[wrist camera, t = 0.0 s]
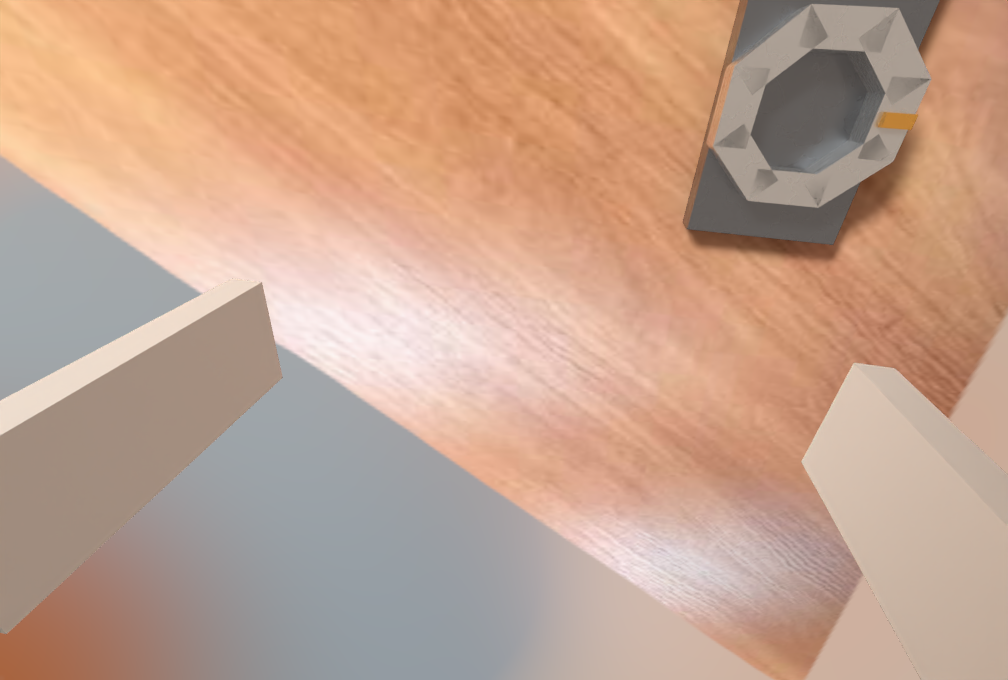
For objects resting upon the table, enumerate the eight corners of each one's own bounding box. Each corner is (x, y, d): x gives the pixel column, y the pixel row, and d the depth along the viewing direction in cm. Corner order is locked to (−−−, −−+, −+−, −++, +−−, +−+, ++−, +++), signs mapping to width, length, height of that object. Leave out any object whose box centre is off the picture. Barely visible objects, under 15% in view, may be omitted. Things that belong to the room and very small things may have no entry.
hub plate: (771, -139, 25) (802, -179, 21) (982, -136, 24) (1055, -178, 20) (679, 221, 35) (689, 238, 31) (824, 237, 34) (853, 256, 30)
